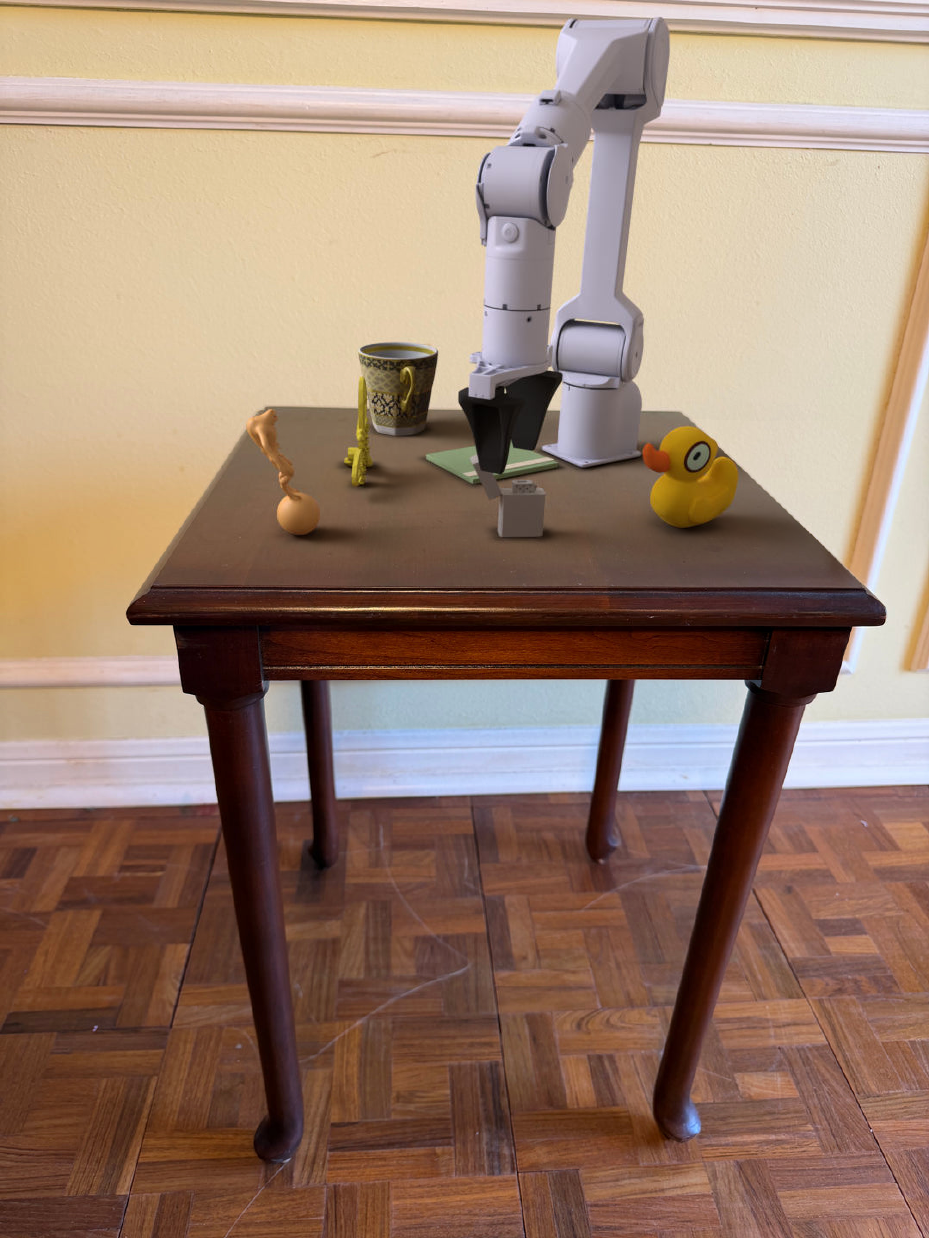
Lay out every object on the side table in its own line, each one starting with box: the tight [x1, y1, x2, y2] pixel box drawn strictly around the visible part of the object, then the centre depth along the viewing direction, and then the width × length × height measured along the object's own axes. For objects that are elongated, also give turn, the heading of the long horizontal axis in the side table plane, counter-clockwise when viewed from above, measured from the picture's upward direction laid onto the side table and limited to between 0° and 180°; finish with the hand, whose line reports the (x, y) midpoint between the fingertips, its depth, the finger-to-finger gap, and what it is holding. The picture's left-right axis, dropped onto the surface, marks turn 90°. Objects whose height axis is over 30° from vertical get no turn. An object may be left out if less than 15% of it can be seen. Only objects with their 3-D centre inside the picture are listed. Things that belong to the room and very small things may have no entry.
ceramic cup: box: [357, 341, 439, 437], centre depth 111 cm, size 13×10×10 cm
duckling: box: [642, 425, 739, 529], centre depth 86 cm, size 11×5×10 cm, turn 115°
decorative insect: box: [343, 376, 374, 487], centre depth 97 cm, size 13×3×10 cm
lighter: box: [470, 454, 546, 538], centre depth 83 cm, size 7×2×8 cm, turn 97°
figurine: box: [245, 408, 321, 536], centre depth 80 cm, size 8×6×12 cm
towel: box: [425, 441, 559, 485], centre depth 103 cm, size 12×10×1 cm
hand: (508, 459), depth 81 cm, fingers open, 7 cm apart
